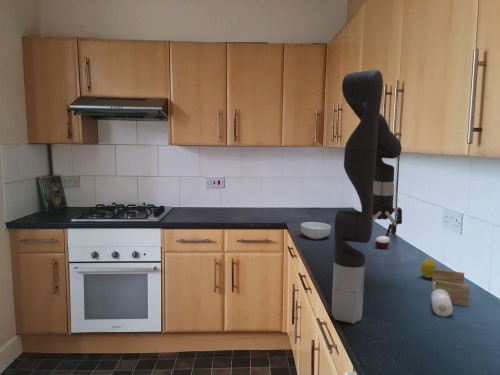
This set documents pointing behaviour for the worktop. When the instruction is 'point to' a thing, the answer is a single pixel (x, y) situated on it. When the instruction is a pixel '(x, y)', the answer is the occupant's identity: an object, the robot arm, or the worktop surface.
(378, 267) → the worktop surface
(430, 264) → the lemon
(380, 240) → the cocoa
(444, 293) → the paper roll
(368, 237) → the robot arm
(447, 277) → the roll holder
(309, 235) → the cereal bowl
